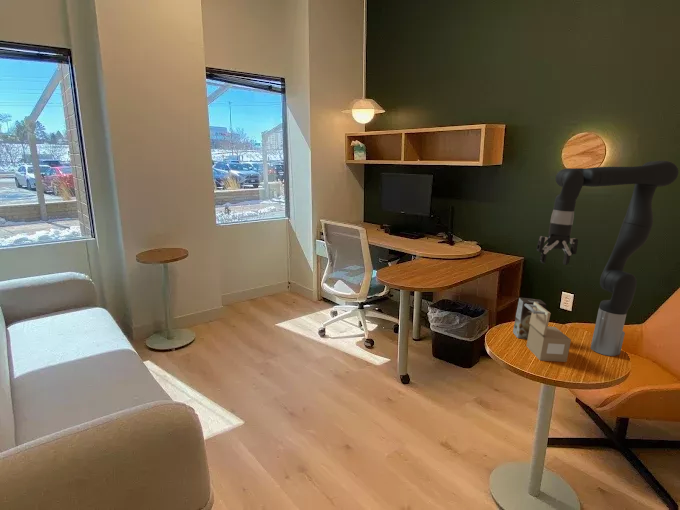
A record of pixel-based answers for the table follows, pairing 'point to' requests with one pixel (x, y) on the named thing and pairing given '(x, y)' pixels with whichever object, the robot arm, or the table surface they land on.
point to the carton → (549, 344)
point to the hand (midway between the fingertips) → (553, 263)
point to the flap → (539, 318)
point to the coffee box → (524, 317)
